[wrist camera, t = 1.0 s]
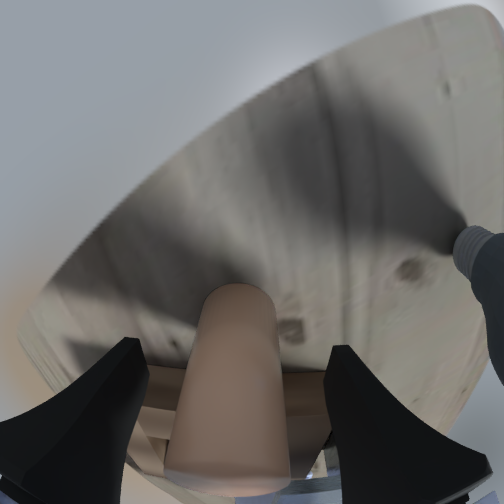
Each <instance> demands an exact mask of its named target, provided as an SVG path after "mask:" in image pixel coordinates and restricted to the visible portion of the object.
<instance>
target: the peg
mask: <svg viewBox="0 0 504 504" xmlns="http://www.w3.org/2000/svg"><path fill="white" fill-rule="evenodd" d="M163 473H164V475H165V476H166V477H167V478H168V479H170V480H171V481H172V482H174V483H176V484H178V485H180V486H182V487H185V488H187V489H190V490H194V491H197V492H201V493H206V494H211V495H218V496H228V497H249V496H259V495H265V494H270V493H273V492H276V491H279V490H281V489H283V488H285V487H287V486H288V485H289V484H290V482H291V475H290V461H289V448H288V436H287V424H286V412H285V401H284V390H283V379H282V368H281V358H280V348H279V338H278V328H277V318H276V310H275V306H274V303H273V301H272V300H271V298H270V297H269V296H268V295H267V294H266V293H265V292H264V291H262V290H261V289H259V288H257V287H255V286H252V285H249V284H243V283H232V284H227V285H223V286H221V287H219V288H217V289H215V290H214V291H212V292H211V293H210V294H209V295H208V297H207V298H206V300H205V302H204V304H203V308H202V312H201V315H200V319H199V323H198V326H197V330H196V334H195V338H194V341H193V345H192V349H191V353H190V357H189V361H188V365H187V369H186V373H185V377H184V381H183V385H182V389H181V393H180V397H179V401H178V405H177V410H176V414H175V418H174V423H173V427H172V431H171V436H170V440H169V445H168V449H167V454H166V459H165V463H164V468H163Z"/></svg>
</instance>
